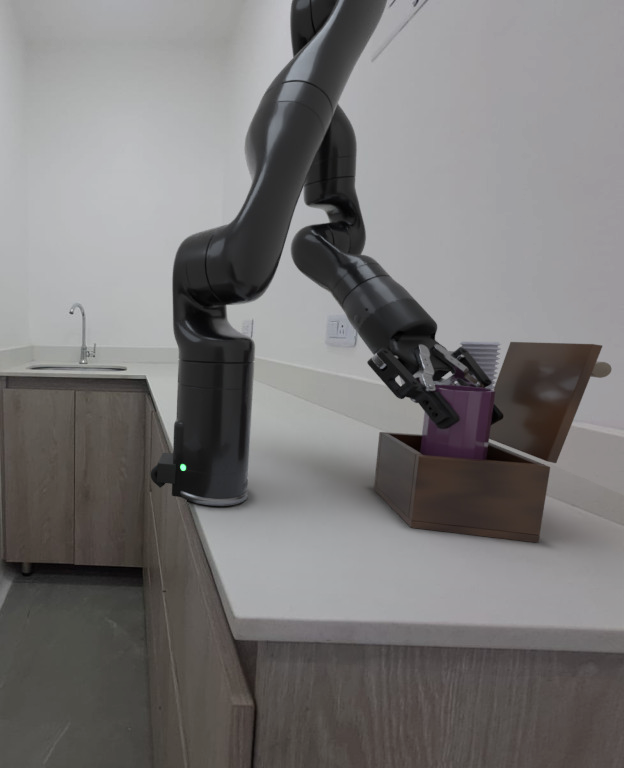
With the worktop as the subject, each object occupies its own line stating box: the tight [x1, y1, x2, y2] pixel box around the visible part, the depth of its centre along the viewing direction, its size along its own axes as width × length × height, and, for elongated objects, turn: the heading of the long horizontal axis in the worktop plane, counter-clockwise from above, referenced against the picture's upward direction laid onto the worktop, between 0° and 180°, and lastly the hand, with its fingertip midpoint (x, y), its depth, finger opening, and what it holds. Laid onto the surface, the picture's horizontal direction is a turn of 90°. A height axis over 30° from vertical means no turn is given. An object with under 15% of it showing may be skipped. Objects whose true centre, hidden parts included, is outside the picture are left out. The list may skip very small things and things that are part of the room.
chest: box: [373, 431, 551, 543], centre depth 47 cm, size 11×11×8 cm
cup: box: [420, 384, 495, 460], centre depth 46 cm, size 6×6×9 cm
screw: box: [455, 341, 502, 390], centre depth 55 cm, size 8×8×20 cm
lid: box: [489, 341, 612, 464], centre depth 43 cm, size 12×11×4 cm
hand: (472, 423), depth 44 cm, fingers closed on cup, 6 cm apart
